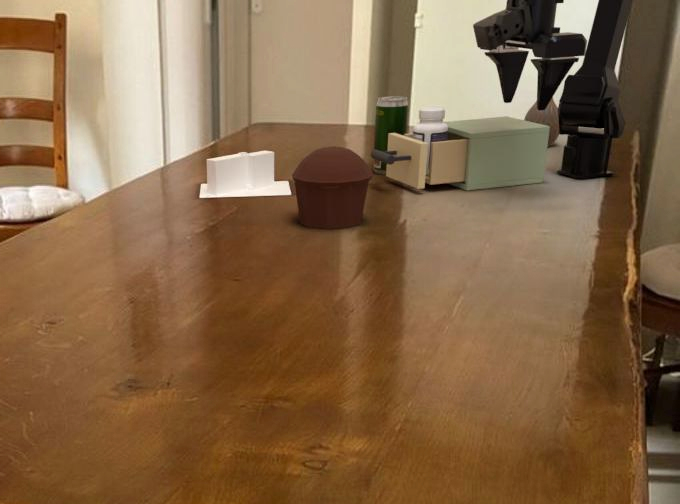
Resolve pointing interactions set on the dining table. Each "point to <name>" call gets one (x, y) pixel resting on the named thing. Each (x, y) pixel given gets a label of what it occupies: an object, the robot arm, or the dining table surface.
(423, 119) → the pill bottle
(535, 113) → the vase
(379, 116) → the beer can
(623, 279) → the dining table surface
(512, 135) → the cabinet
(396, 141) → the drawer
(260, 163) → the napkin holder
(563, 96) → the robot arm
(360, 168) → the muffin
